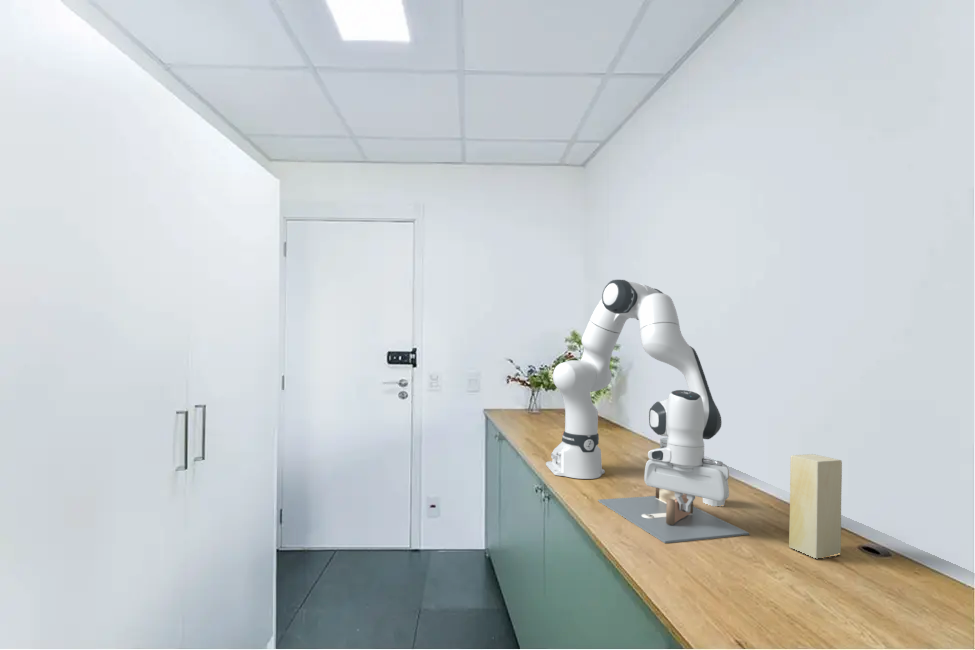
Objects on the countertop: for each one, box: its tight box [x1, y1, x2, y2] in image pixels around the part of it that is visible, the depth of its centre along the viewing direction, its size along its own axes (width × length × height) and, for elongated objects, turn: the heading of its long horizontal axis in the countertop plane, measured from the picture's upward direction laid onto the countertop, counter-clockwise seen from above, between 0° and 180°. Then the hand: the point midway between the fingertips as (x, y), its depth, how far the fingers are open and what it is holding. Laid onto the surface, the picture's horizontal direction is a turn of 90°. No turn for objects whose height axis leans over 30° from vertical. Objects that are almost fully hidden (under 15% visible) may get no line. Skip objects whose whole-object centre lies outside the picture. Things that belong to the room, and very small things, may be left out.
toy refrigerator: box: [788, 453, 843, 560], centre depth 113 cm, size 8×7×21 cm
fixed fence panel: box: [655, 488, 684, 502], centre depth 141 cm, size 13×2×6 cm, turn 17°
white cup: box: [702, 498, 726, 507], centre depth 145 cm, size 7×7×7 cm
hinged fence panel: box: [666, 494, 694, 525], centre depth 129 cm, size 14×2×6 cm, turn 137°
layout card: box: [597, 495, 750, 544], centre depth 132 cm, size 30×24×1 cm
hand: (684, 511), depth 126 cm, fingers closed
